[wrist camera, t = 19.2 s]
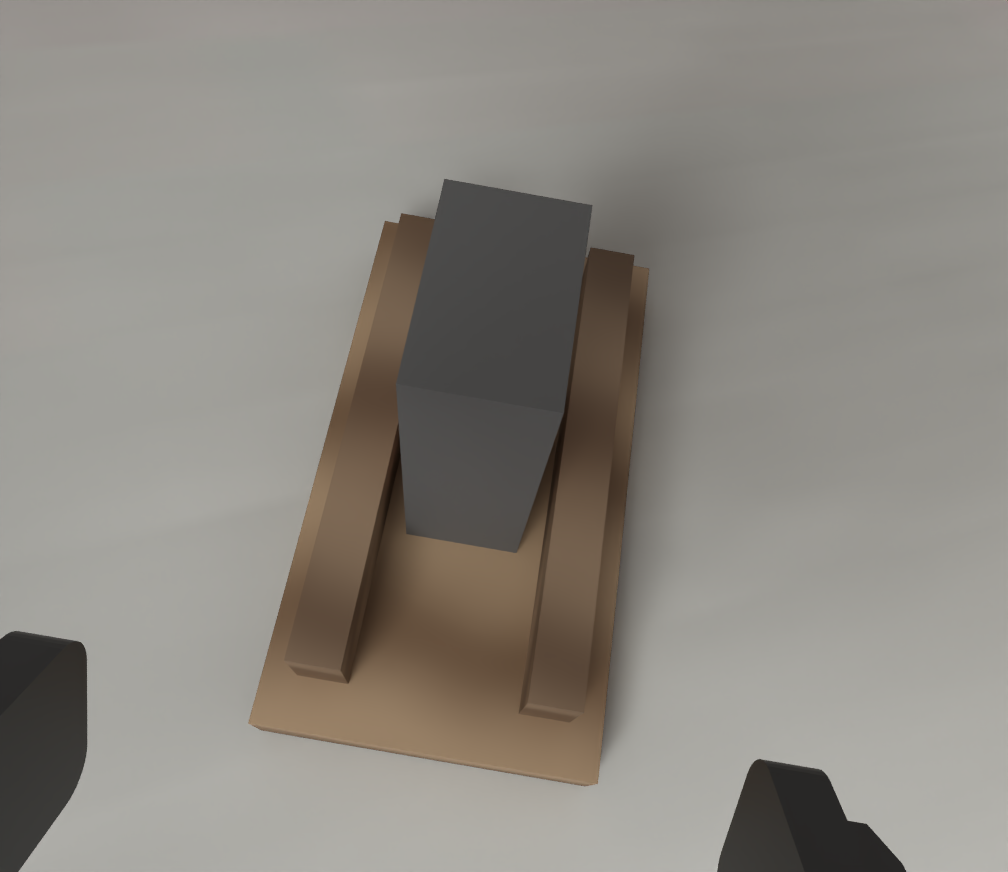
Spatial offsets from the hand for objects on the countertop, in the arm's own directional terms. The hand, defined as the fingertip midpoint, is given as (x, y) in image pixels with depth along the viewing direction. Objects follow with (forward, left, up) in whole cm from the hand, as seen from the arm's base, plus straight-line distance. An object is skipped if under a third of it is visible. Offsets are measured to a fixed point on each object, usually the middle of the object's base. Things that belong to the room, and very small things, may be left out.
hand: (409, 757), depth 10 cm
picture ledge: (-7, +7, -17) cm, 19 cm away
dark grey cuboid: (-7, +7, -15) cm, 18 cm away
